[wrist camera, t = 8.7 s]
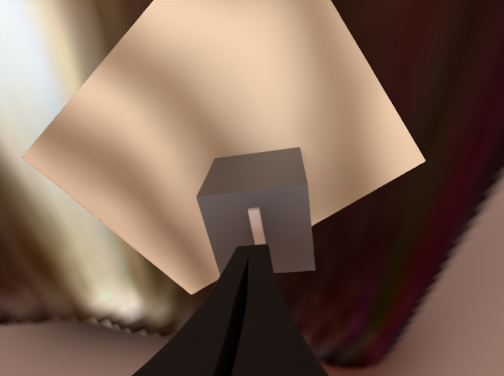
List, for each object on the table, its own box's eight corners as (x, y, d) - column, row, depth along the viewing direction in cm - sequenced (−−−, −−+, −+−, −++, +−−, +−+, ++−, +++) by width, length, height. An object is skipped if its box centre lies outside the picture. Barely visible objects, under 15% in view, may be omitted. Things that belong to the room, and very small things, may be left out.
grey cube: (306, 219, 18) (315, 273, 14) (231, 226, 19) (219, 279, 15) (299, 147, 16) (308, 186, 12) (215, 158, 17) (194, 199, 13)
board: (195, 280, 24) (191, 294, 23) (39, 148, 19) (21, 157, 18) (414, 150, 17) (425, 160, 16) (259, -107, 12) (257, -124, 11)
